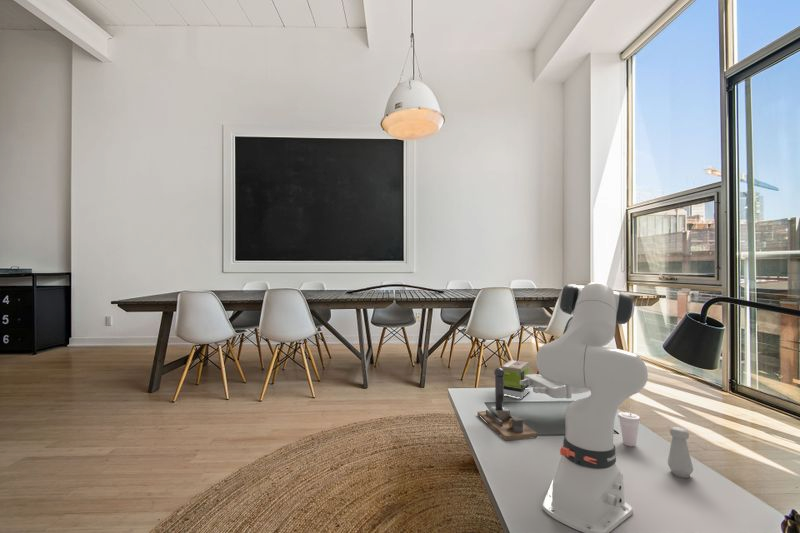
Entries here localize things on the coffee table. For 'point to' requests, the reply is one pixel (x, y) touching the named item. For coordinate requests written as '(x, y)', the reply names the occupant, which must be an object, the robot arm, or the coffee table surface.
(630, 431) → the smoothie
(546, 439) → the coffee table surface
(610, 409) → the robot arm
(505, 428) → the base
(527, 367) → the tea box
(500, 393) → the handle slide
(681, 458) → the salt shaker
